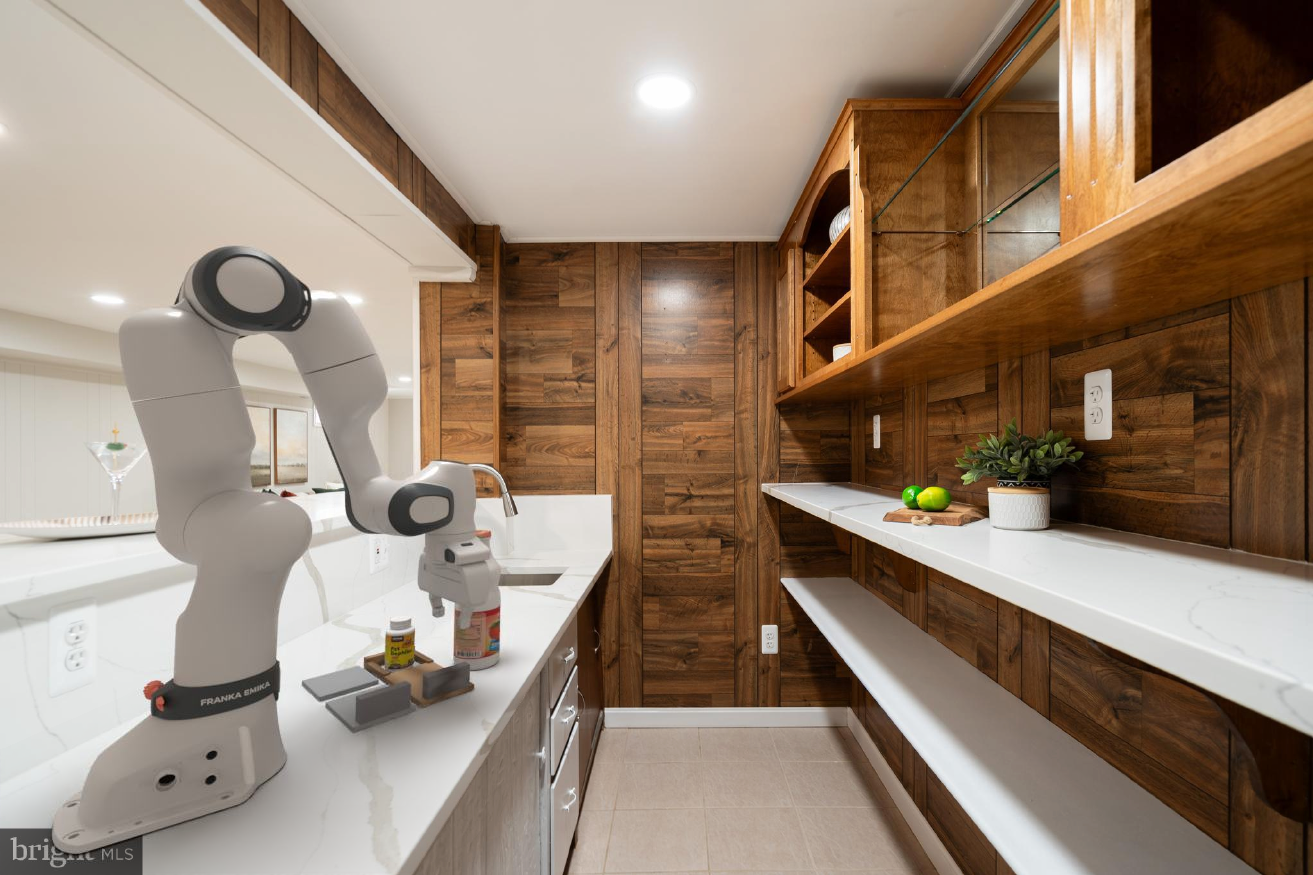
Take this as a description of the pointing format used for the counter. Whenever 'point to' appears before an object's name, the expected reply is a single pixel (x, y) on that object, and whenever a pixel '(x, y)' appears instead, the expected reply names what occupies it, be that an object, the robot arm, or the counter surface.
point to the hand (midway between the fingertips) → (450, 621)
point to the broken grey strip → (345, 687)
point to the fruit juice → (481, 622)
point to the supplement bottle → (399, 644)
